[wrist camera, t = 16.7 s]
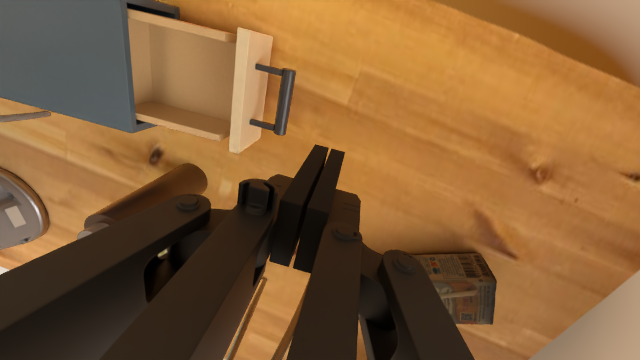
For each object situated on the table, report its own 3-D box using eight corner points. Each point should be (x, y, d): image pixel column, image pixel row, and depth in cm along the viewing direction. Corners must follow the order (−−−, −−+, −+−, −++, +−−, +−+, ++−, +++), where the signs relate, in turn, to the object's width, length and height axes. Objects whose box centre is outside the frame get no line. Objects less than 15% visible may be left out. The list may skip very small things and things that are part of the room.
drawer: (309, 45, 30) (294, 40, 24) (291, 146, 36) (275, 163, 30) (148, 5, 32) (95, -8, 25) (153, 109, 37) (111, 119, 31)
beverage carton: (349, 253, 42) (346, 285, 36) (482, 248, 38) (503, 283, 32) (355, 291, 45) (353, 326, 39) (479, 290, 41) (498, 329, 35)
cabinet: (179, 7, 32) (118, -10, 24) (180, 118, 38) (131, 133, 30) (53, -23, 33) (-44, -49, 25) (73, 90, 39) (-1, 97, 31)
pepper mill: (176, 189, 43) (59, 267, 27) (176, 159, 41) (48, 225, 24) (207, 197, 43) (107, 281, 26) (208, 168, 40) (100, 240, 24)
